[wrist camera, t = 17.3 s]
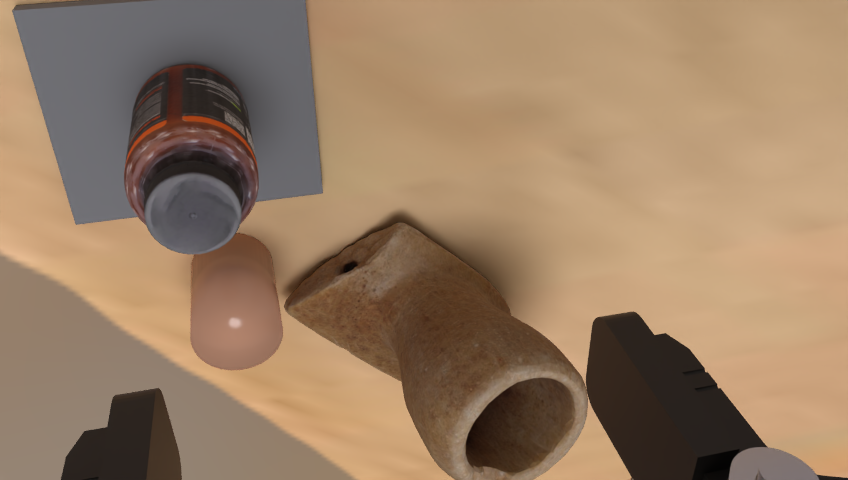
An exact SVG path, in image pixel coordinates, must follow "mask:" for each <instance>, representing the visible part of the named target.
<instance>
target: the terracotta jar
mask: <svg viewBox="0 0 848 480" xmlns="http://www.w3.org/2000/svg"><path fill="white" fill-rule="evenodd" d="M282 336H283V327H282V321H281V314H280V308H279V301H278V295H277V288H276V282H275V275H274V269H273V262H272V257H271V255H270V252H269V251H268V249H267V248H266V247H265V245H264V244H263V243H261V242H260V241H259V240H257V239H255V238H254V237H251V236H249V235H245V234H240V233H236V234H235V235H234V236H233V238H232V239H231V240H230V241H229V242H227V243H226V244H225V245H223V246H222V247H220V248H219V249H216V250H213V251H211V252H208V253H203V254H194V256H193V259H192V263H191V337H190V338H191V344H192V347H193V349H194V351H195V353H196V354H197V356H198V357H199V358H200V359H202V360H203V361H204V362H206V363H207V364H209V365H211V366H213V367H216V368H220V369H225V370H242V369H247V368H251V367H254V366H256V365H259V364H261V363H263V362H264V361H266V360H267V359H268V358H270V357H271V356H272V355H273V354H274V353H275V352H276V350H277V349H278V347H279V345H280V343H281V340H282Z"/></svg>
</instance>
